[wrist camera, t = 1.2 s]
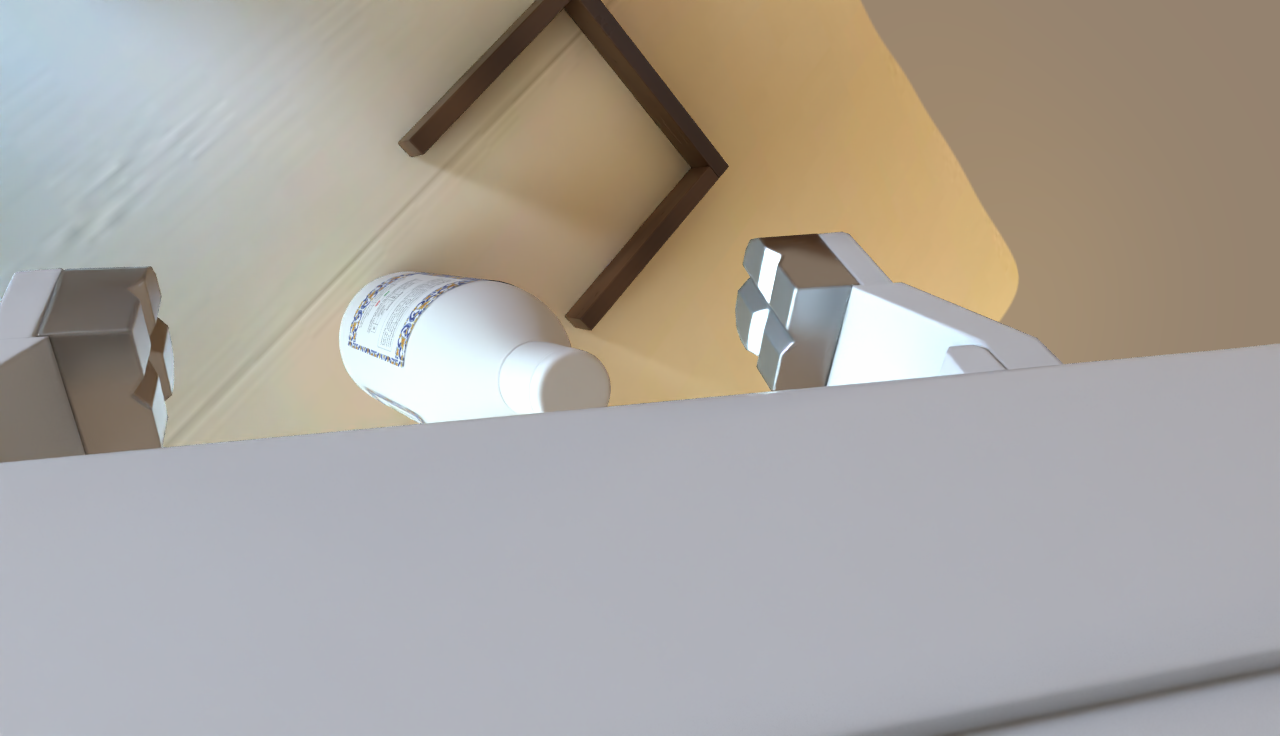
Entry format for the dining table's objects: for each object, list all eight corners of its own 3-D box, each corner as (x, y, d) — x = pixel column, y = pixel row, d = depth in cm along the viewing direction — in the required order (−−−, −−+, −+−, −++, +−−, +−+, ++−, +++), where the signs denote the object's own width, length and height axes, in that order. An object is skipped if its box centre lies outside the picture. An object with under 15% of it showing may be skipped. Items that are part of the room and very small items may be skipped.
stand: (575, 327, 56) (591, 331, 54) (396, 143, 49) (408, 139, 48) (710, 168, 59) (729, 166, 57) (559, -25, 52) (575, -33, 51)
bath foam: (483, 378, 53) (679, 448, 36) (360, 422, 50) (511, 522, 33) (447, 254, 51) (637, 266, 34) (318, 293, 48) (455, 327, 31)
